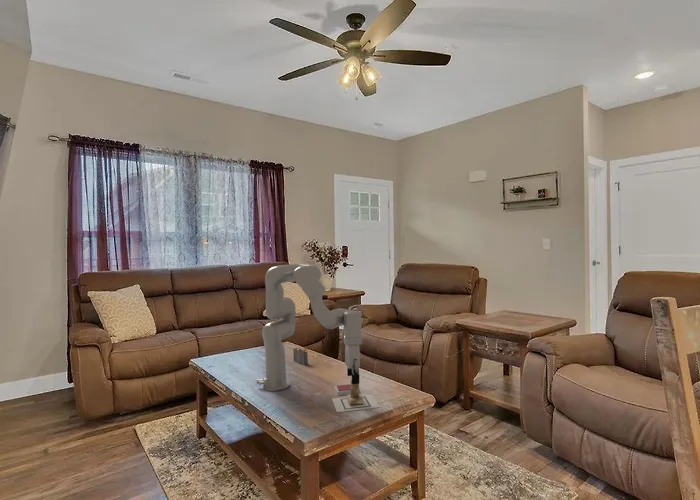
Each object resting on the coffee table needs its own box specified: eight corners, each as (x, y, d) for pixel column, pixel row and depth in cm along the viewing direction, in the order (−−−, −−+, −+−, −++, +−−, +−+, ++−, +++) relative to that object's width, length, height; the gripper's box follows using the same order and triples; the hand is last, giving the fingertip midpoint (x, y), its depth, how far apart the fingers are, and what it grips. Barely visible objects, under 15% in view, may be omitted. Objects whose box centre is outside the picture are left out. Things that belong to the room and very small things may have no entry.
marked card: (336, 412, 163) (336, 411, 163) (332, 399, 177) (332, 398, 177) (379, 407, 166) (379, 406, 166) (371, 395, 180) (371, 394, 180)
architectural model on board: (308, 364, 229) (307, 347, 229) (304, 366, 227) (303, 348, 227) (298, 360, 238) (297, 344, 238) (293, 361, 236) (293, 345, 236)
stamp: (349, 406, 168) (348, 383, 168) (347, 400, 174) (346, 378, 174) (363, 404, 169) (362, 382, 169) (360, 399, 175) (359, 377, 175)
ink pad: (337, 395, 181) (337, 391, 181) (334, 388, 189) (334, 385, 189) (359, 392, 183) (358, 389, 183) (355, 386, 191) (355, 383, 191)
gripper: (340, 335, 179) (341, 373, 179) (347, 346, 162) (348, 387, 162) (357, 334, 180) (357, 372, 181) (365, 344, 163) (366, 386, 164)
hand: (353, 379), depth 171 cm, fingers open, 9 cm apart
